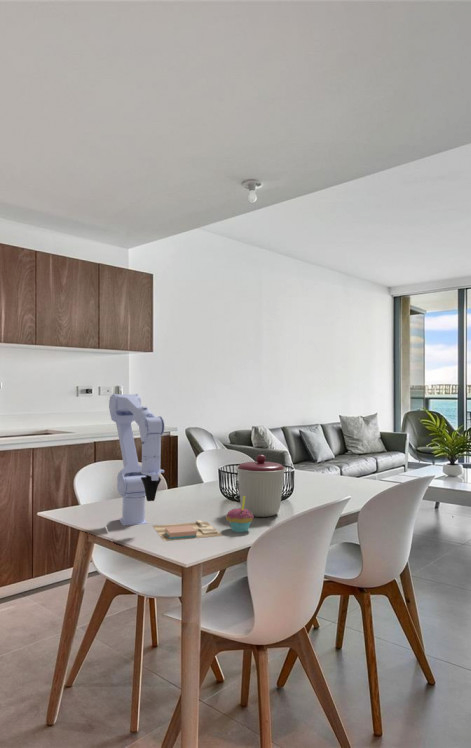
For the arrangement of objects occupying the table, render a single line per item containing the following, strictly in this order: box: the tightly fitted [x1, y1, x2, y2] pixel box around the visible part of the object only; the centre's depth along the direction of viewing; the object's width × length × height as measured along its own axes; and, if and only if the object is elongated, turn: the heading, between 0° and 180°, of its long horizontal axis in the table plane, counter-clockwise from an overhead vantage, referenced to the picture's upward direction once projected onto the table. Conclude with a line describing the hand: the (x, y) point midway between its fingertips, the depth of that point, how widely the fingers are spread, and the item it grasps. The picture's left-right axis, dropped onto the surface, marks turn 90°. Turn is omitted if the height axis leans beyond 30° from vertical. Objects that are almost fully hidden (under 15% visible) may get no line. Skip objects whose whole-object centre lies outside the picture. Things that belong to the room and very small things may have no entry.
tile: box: [165, 525, 197, 539], centre depth 159 cm, size 2×8×7 cm
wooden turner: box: [195, 519, 219, 534], centre depth 168 cm, size 14×4×1 cm, turn 19°
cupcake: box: [225, 494, 255, 533], centre depth 166 cm, size 9×8×12 cm
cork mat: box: [152, 521, 224, 542], centre depth 164 cm, size 18×18×1 cm
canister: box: [235, 454, 287, 518], centre depth 190 cm, size 18×18×21 cm
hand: (150, 500), depth 163 cm, fingers closed
